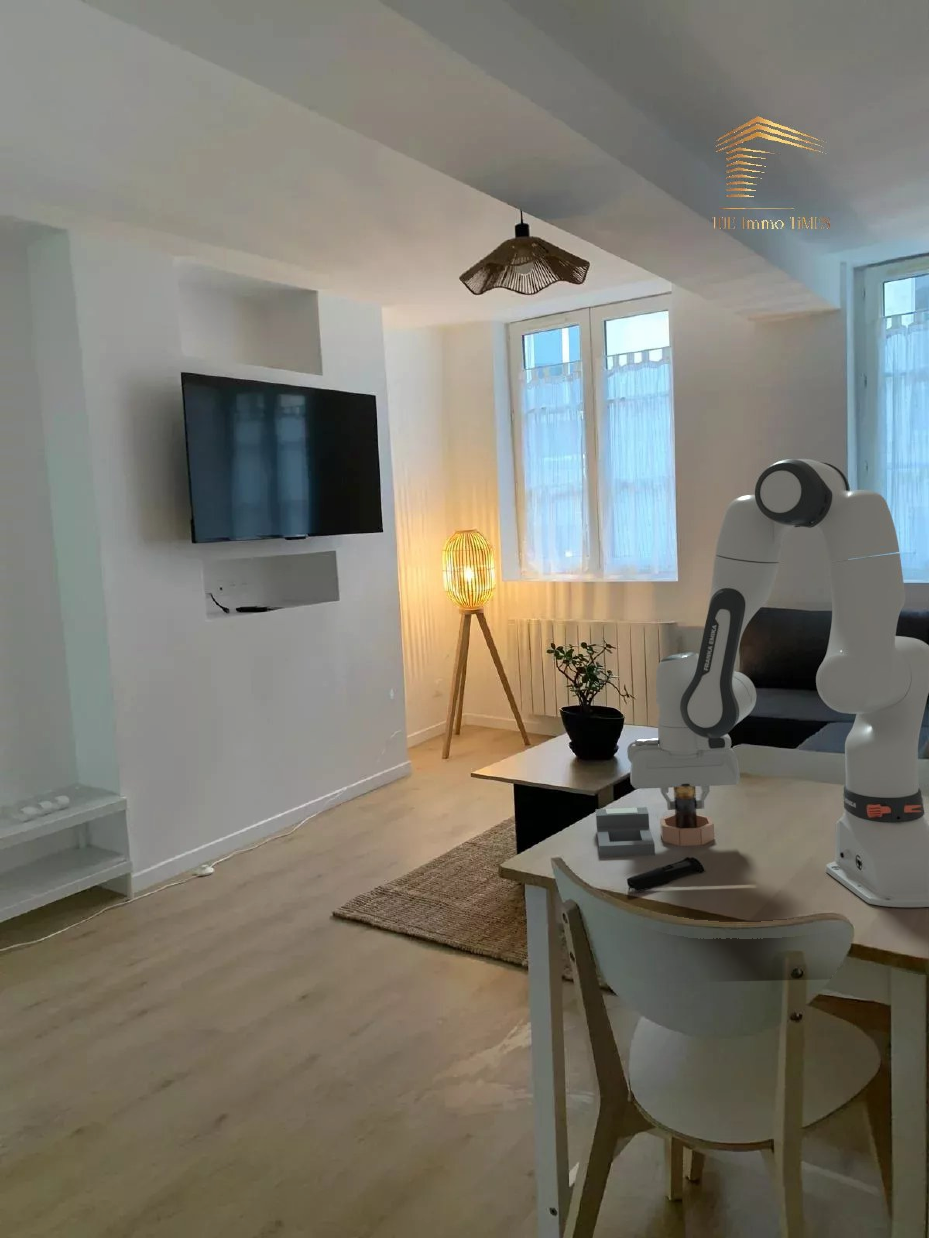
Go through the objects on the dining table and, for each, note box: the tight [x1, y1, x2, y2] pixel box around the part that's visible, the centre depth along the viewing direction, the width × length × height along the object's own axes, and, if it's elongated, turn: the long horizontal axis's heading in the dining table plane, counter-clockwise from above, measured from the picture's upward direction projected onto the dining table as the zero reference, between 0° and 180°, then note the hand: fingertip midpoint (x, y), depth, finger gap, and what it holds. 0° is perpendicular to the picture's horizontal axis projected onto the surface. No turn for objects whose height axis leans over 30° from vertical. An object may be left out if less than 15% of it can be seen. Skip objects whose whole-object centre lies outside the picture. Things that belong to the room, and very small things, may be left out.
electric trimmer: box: [626, 856, 706, 891], centre depth 160 cm, size 4×16×3 cm, turn 119°
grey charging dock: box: [595, 806, 656, 858], centre depth 179 cm, size 14×10×5 cm
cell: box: [673, 784, 698, 829], centre depth 179 cm, size 4×4×10 cm
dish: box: [659, 813, 715, 847], centre depth 180 cm, size 10×10×4 cm
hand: (685, 808), depth 179 cm, fingers closed on cell, 4 cm apart
